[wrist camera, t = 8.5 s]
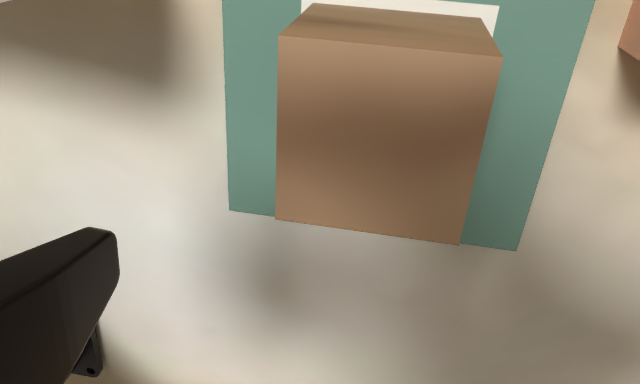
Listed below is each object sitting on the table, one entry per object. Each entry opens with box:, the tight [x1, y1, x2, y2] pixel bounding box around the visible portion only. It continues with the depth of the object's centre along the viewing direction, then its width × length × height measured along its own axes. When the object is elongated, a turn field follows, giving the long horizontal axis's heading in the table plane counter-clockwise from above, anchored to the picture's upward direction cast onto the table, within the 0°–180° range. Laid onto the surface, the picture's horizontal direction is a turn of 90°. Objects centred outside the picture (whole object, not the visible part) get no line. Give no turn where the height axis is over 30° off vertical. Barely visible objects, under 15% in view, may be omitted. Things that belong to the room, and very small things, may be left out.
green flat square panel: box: [222, 0, 595, 251], centre depth 18 cm, size 12×12×1 cm
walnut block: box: [275, 3, 504, 245], centre depth 16 cm, size 6×6×5 cm
